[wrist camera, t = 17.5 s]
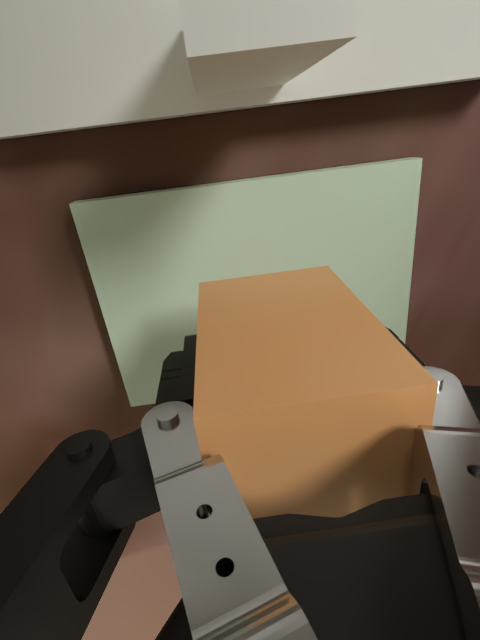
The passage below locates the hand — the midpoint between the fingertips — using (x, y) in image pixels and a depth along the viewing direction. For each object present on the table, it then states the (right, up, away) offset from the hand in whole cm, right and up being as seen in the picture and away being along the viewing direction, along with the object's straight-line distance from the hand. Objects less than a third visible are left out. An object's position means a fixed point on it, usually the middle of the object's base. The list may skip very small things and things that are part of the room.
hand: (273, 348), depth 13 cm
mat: (0, +2, +5) cm, 5 cm away
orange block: (0, -1, +2) cm, 2 cm away
